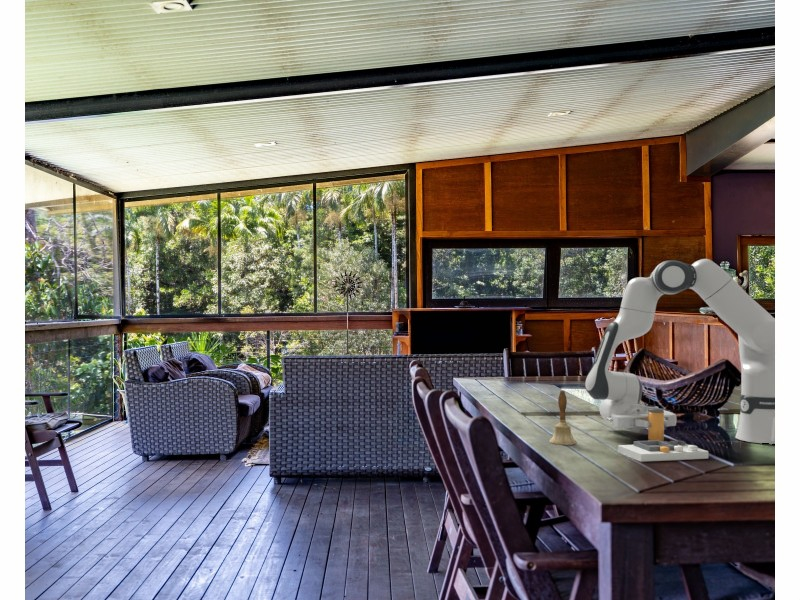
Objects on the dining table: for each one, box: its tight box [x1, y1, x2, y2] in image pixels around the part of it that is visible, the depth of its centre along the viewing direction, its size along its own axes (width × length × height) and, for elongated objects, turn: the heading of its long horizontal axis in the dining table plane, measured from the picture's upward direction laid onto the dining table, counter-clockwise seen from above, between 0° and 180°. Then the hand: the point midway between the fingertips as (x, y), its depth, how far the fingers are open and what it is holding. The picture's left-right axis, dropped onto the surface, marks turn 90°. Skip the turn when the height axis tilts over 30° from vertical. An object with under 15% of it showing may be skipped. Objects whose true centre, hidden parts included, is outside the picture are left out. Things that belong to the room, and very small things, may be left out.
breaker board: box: [617, 440, 709, 462], centre depth 198 cm, size 21×12×3 cm, turn 102°
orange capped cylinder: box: [647, 408, 665, 441], centre depth 212 cm, size 4×4×10 cm
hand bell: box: [548, 390, 578, 446], centre depth 215 cm, size 8×8×16 cm
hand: (657, 424), depth 211 cm, fingers closed on orange capped cylinder, 4 cm apart
